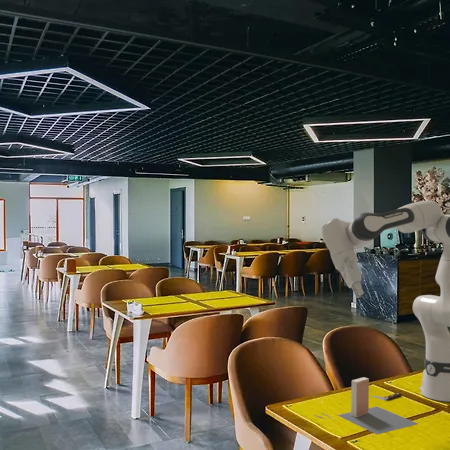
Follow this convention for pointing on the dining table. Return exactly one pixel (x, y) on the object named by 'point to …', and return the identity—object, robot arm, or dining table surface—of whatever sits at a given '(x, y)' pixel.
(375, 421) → the mat
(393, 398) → the kitchen cleaver
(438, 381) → the robot arm
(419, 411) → the dining table surface
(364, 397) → the tile
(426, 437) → the dining table surface
